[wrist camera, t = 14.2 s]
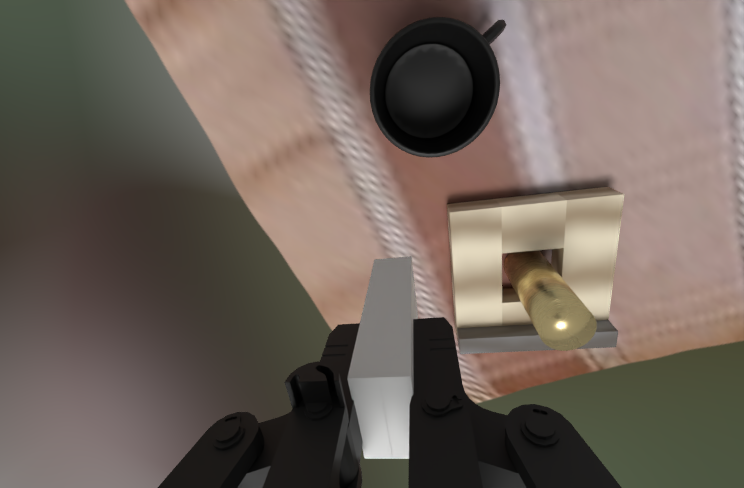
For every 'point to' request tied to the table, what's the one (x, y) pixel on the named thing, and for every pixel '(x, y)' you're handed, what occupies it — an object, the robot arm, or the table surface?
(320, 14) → the table surface
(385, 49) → the mug
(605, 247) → the jig
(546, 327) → the pale yellow cylinder
